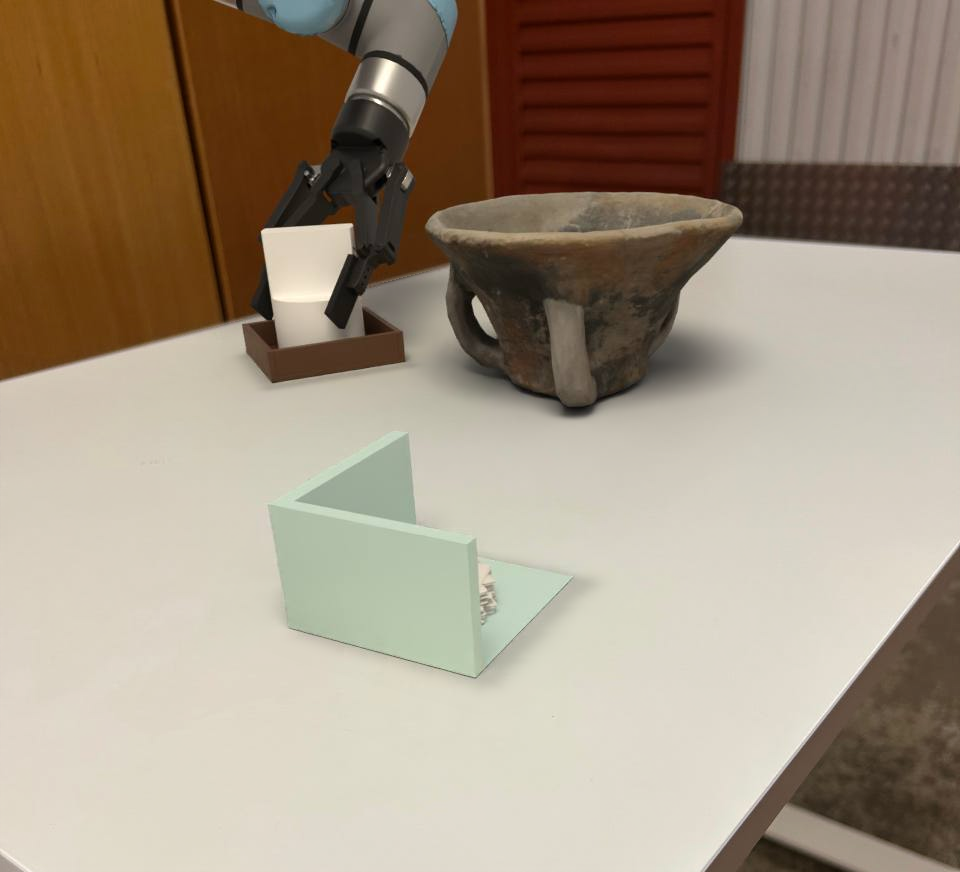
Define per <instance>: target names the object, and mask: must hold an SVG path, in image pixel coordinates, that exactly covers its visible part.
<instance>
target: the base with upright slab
mask: <svg viewBox="0 0 960 872" xmlns="http://www.w3.org/2000/svg"><path fill="white" fill-rule="evenodd" d="M260 232H261V236H262V243H263V245H262V248H263V255H264V263H265V262H266V269H267V275H268V282H269V288H270V295H271V301H272V308H273V314H274V316H273V319H274V321H275V328H276V334H277V341H278V347H279V349H280V348H286V347H293V346H300V345H306V344H313V343H320V342H326V341H333V340H340V339H346V338H353V337H360V336H365V331H364V321H363V312H362V307H363V305H362V296H358V298H357V300H356V303H355V305H354V308H353V310H352V313H351V315H350V318H349V320H348V323H347V325H346V328H345V329H339V328H338V327H337V326H336V325H335V324H334V323H333V322H332V321H331V320H330V319H329V318H328V317H327V316H326V315H325V314H324V312H325V309H326V307H327V304H328V302H329V300H330V297H331V295H332V292H333V290H334V287H335V285H336V282H337V280H338V277H339V275H340V272H341V270H342V268H343V265H344V263H345V260H346V258H347V255H348V254H354V255H355V256H356V257H357V258H358V256H357V253H356V252H355V250H354V249H353V247H354V248H355V249H357V248H356V247H355V246H356V236H355V229H354V224H353V223H351V222H349V223H335V224H321V225H315V226H299V227H283V228H266V229H264V230H262V229H261V231H260Z"/></svg>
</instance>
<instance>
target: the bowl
mask: <svg viewBox="0 0 960 872" xmlns="http://www.w3.org/2000/svg"><path fill="white" fill-rule="evenodd" d="M743 215H744V214H743V212H742V211H741V209H739V208H738V207H737V206H734V205H732V204H729V203H726V202H722V201H720V200H718V199H710V198H704V197H701V196H697V195H688V194H687V195H685V194H679V193H663V192H654V191H653V192H651V191H649V192H646V191H632V192H631V191H630V192H627V191H618V192H616V191H615V192H611V191H601V192H600V191H599V192H598V191H580V192H578V191H574V192H549V193H547V192H546V193H531V194H530V193H529V194H515V195H513V194H512V195H506V196H500V197H496V198H490V199H485V200H479V201H475V202H469V203H462V204H458V205H454V206H451V207H450V206H449V207H447V208H445V209H442V210H438V211H436V212H435V213H433V214H432V215H431V216H430V217H429V218H428V220H427V222H426V224H425V225H424V230H425V233H426V235H427V236H428V237H429V238H430V240H431V241H432V242H433V244H435V246H436V247H437V248H438V249H439V250H440V251H441V252H442V254H443V255H445V257H446V258H447V259H448V260H449V261H450V262H449V274H448V281H447V287H446V293H445V305H446V314H447V319H448V321H449V323H450V326H451V328H452V331H453V333H454V336H455V338H456V340H457V342H458V343H459V345H460V347H461V348H462V350H463V351H464V353H465V354H466V355H468V356H469V357H470V358H472V359H473V360H474V361H475V362H477V363H478V364H479V365H480V366H482V367H485V368H488V369H491V370H493V371H497V372H499V373H502V374H503V373H504V374H506V375H507V377H508V378H509V379H510V381H511V382H512V383H513V384H515V385H517V386H519V387H521V388H523V389H524V390H527V391H531V392H533V393H536V394H541V395H546V396H550V397H554V398H558V399H559V400H560V402H561V403H562V405H565V406H567V407H572V408H573V407H585V406H586V407H587V406H591V405H592V404H594V403H595V402H596V400H599V399H601V398H604V397H606V396H610V395H612V394H615V393H618V392H620V391H624V390H627V389H628V388H629V387H631V386H632V385H633V384H636V383H638V382H639V381H640V380H641V379H642V378H643V377H644V376H645V375H647V373H648V371H649V367H648V359H650V358H651V357H652V356H653V355H654V353H656V351H657V350H658V349H659V348H660V347H661V346H662V345H663V344H664V342H665V341H666V340H667V338H668V337H669V334H670V333H671V331H672V329H673V326H674V323H675V320H676V317H677V314H678V311H679V305H680V298H681V293H682V292H681V291H682V290H683V289H684V287H685V286H686V285H687V284H688V282H689V281H690V280H691V279H692V278H693V276H695V274H697V273H698V272H699V271H700V270H701V269H703V268H704V267H705V266H706V264H708V263H709V262H710V261H711V260H712V259H713V257H714V256H715V255H716V254H717V253H718V252H719V250H721V248H722V247H723V246H724V245H725V244H726V243H727V241H729V240H730V238H731V237H732V236H733V235H734V234H735V233H736V232H737V230H739V228H740V227H741V226H742V225H743V221H744V217H743ZM475 297H477V299H478V301H479V303H480V304H481V306H482V307H483V310H484V311H485V312H484V313H485V314H486V316H487V318H488V320H489V323H490V324H491V326H492V329H493V330H494V332H495V335H496V337H497V338H495V337H493V336H491V335H489V334H488V333H486V330H484V329H483V327H482V325H481V324H480V322H479V321H478V319H477V317H476V315H475V312H474V311H475V310H474V306H473V303H472V302H473V299H474V298H475Z"/></svg>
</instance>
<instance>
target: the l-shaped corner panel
mask: <svg viewBox="0 0 960 872" xmlns="http://www.w3.org/2000/svg"><path fill="white" fill-rule="evenodd" d="M412 469H413V468H412V458H411V445H410V435H409V432H407V431H401V430H395V429H394V430H392V431H390V432H389V433H387V434H385V435H384V436H382V437H380V438H378V439H377V440H375V441H373V442H371V443H370V444H368V445H366V446H365V447H363V448H361V449H360V450H357V451H356V452H354V453H352V454H351V455H349V456H348V457H346V458H344V459H342V460H341V461H339V462H337V463H335V464H334V465H332V466H329V468H327V469H325V470H323V471H322V472H320V473H318V474H317V475H315V476H313V477H312V478H310V479H308V480H306V481H305V482H303V483H302V484H300V485H297V486H296V487H294V488H293V489H291V490H289V491H287V492H286V493H284V494H282V495H280V496H278V497H277V498H276V499H273V500H272V501H269V503H267V510H268V515H269V520H270V521H269V522H270V525H271V527H270V528H271V533H272V537H273V542H274V543H273V544H274V549H275V550H274V551H275V555H276V561H277V567H278V572H279V573H278V574H279V579H280V584H281V589H282V595H283V602H284V607H285V612H286V613H285V614H286V619H287V625H288V628H289V629H292V630H296V631H300V632H303V633H307V634H310V635H315V636H317V637H322V638H326V639H328V640H329V639H330V640H333V641H336V642H341V643H343V644H348V645H352V646H356V647H358V648H363V649H367V650H371V651H374V652H378V653H382V654H385V655H390V656H393V657H397V658H401V659H403V660H408V661H411V662H414V663H419V664H423V665H427V666H430V667H434V668H437V669H441V670H444V671H448V672H452V673H456V674H460V675H462V676H463V675H464V676H468V677H471V678H477V677H478V676H479V675H480V674H481V673H482V672H483V670H484V669H486V668H487V666H488V665H489V664H490V663H491V662H492V661H493V660H494V659H495V658H496V657H498V655H499V654H500V653H501V652H502V651H503V650H504V649H505V648H506V647H507V646H508V645H509V644H510V643H511V642H512V641H513V639H515V637H516V636H517V635H519V634H520V632H521V631H523V629H525V627H526V626H528V625H529V623H530V622H531V621H532V620H533V619H534V618H535V617H536V616H537V615H538V614H539V613H540V612H541V611H542V610H543V609H544V607H545V606H547V605H548V604H549V602H551V600H552V599H554V598H555V596H556V595H558V593H559V592H560V591H561V590H562V589H563V588H564V587H566V585H567V584H568V583H569V582H570V581H571V580H572V579H573V578H574V576H573V575H569V574H563V573H559V572H553V571H550V570H549V571H548V570H544V569H539V568H535V567H534V568H533V567H529V566H525V565H524V566H523V565H520V564H516V563H509V562H505V561H501V560H496V559H490V558H487V557H486V558H485V557H481V556H479V555H478V543H477V541H478V540H477V536H474V535H469V534H464V533H458V532H454V531H448V530H443V529H439V528H432V527H429V526H422V525H419V524H417V514H416V504H415V503H416V501H415V491H414V479H413V470H412Z"/></svg>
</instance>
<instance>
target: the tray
mask: <svg viewBox="0 0 960 872" xmlns="http://www.w3.org/2000/svg"><path fill="white" fill-rule="evenodd" d="M362 312H363V321H364V331H365V336H360V337H353V338H346V339H340V340H333V341H326V342H320V343H313V344H306V345H300V346H293V347H286V348H280V349H279V347H278V341H277V334H276V328H275V321H274V318H272V321H270V320H266V319H265V320H260V321H252V322H246V323H241V328H242V333H243V339H244V345H245V351H246V354H247V355H248V356H249V357H250V358H251V360H253V362H254V363H255V364H256V365H257V366H258V368H259V369H260V370H261V371H262V373H263V374H264V375H265V376H266V377H267V378H268V380H269V381H270V382H271V383H273V384H274V383H278V382H284V381H285V382H286V381H291V380H297V379H304V378H309V377H317V376H323V375H329V374H335V373H336V374H337V373H341V372H349V371H353V370H361V369H366V368H374V367H380V366H385V365H392V364H397V363H404V362H406V354H405V343H404V332H403V331H402V330H401V329H400V328H398V327H397V326H395V325H393V323H390V322H389V321H388V320H386V319H385V318H384V317H382V316H381V315H379V314H377V313H376V312H375V311H373V310H372V309H370V308H368V307H367V306H362Z"/></svg>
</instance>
